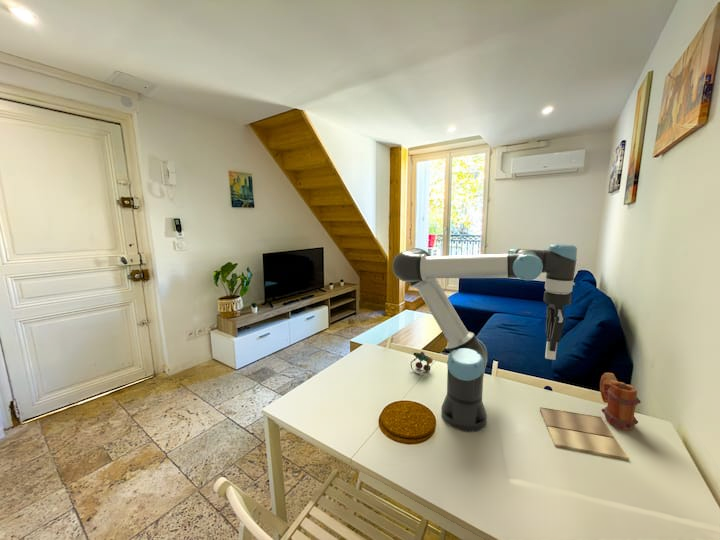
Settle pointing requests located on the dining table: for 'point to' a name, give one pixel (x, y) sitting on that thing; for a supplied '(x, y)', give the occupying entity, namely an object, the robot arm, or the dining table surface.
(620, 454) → the laid board
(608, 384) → the mug
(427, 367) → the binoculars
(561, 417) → the plank
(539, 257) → the robot arm
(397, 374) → the dining table surface
